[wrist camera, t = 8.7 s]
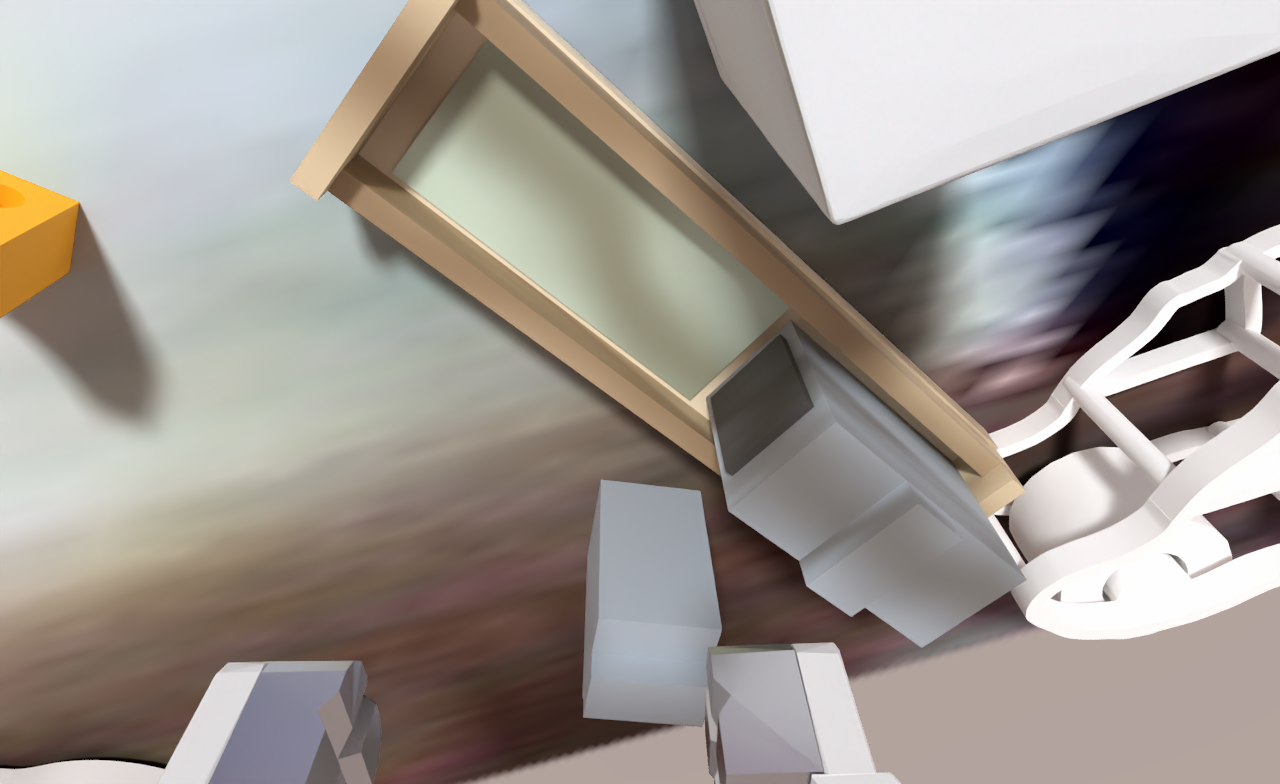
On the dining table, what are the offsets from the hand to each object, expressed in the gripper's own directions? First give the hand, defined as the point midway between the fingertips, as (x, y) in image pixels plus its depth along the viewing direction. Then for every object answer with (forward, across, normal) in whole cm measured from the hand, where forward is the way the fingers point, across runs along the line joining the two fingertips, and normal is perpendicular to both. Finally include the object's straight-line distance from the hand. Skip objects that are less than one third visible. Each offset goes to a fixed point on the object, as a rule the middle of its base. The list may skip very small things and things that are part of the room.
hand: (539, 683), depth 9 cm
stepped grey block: (+18, -2, +13) cm, 22 cm away
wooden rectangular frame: (+18, -4, +4) cm, 18 cm away
